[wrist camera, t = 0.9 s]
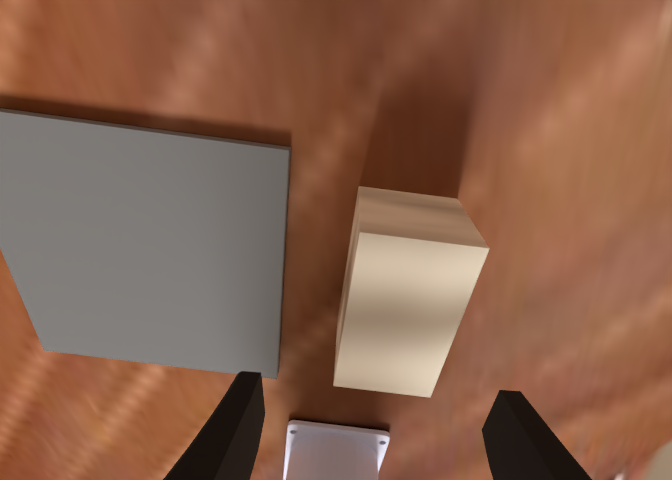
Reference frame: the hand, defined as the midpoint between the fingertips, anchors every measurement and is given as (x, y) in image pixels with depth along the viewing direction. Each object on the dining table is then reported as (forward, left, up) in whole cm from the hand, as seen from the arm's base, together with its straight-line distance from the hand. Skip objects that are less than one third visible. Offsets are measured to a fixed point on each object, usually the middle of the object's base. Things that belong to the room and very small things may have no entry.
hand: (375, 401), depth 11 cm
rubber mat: (-3, +12, -10) cm, 16 cm away
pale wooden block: (-1, -2, -10) cm, 10 cm away
